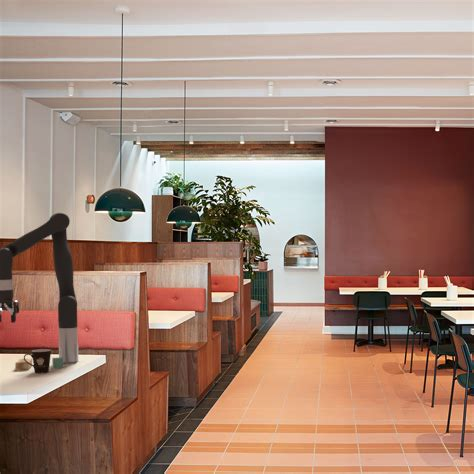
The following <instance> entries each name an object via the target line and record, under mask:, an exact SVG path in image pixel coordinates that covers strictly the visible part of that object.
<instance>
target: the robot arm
mask: <svg viewBox="0 0 474 474" xmlns="http://www.w3.org/2000/svg"><path fill="white" fill-rule="evenodd" d="M70 221H71V220H70V217H69V216H68V215H67V214H66V213H64V212H56V213H53V214H52V215H51V216H50V218H49V220H47V221H46V222H45V223H44V224H42V225H40V226H39V227H37V228H35V229H33V230H31V231H29V232H27V233H25V234H24V235H21V236H20V237H18V238H17V239H14V241H12V242H11V243H8V244H6V245H5V246H2V247H1V248H0V323H2V320H3V319H2V313H3V311H8V312H9V313H10V322H11V323H12V324H13V323H16V321H17V320H16V319H17V314H19V313H20V303H19V300H13V299H14V282H13V259H14V258H15V257H16V256H18V255H20V254H23V253H24V252H26V251H27V250H29V249H31V248H32V247H34V246H35V245H37V244H38V243H40V242H41V241H43V240H44V239H46V238H48V237H50V236H51V239H52V253H53V255H52V257H53V265H54V267H53V268H54V273H55V277H56V280H57V284H58V291H59V292H58V294H59V298H58V303H57V322H58V358H59V357H62V358H63V364H69V363H70V364H71V363H78V361H79V340H78V339H79V338H78V301H77V297H76V292H75V291H76V290H75V286H74V263H73V256H72V251H71V248H70V245H69V242H68V237H67V235H68V233H67V229H68V227H69V226H70Z"/></svg>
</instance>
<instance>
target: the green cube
mask: <svg viewBox="0 0 474 474" xmlns="http://www.w3.org/2000/svg"><path fill="white" fill-rule="evenodd" d="M51 366H52V369H63V368H64V363H63V358H62V357H59V356H58V357H52V365H51Z"/></svg>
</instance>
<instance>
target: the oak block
mask: <svg viewBox="0 0 474 474" xmlns="http://www.w3.org/2000/svg"><path fill="white" fill-rule="evenodd" d="M25 360H26V361H27V362H29V363H30V364H32V365H33V358H25ZM25 360H24V358H19V359H17V360H16V362H15V364H14V365H15V368H14V369H15V371H30V369H31V368H32V367H33V366H31V365H30V364H28V363H27V362H26V361H25Z"/></svg>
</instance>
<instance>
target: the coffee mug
mask: <svg viewBox="0 0 474 474" xmlns="http://www.w3.org/2000/svg"><path fill="white" fill-rule="evenodd" d="M51 354H52V349H50V348H48V349H47V348H42V349H41V348H40V349H33V350H31V353H25V354H24V356H23V359H24V360H25V359H26V356H30V357H31V359H32V364H30V363H29V362H27V361H26V360H25V361H26V362H27V363H28V364H30V365H31V366H32V367H33V370H34V374H48V373H49V372H50V364H51V356H52V355H51Z"/></svg>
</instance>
